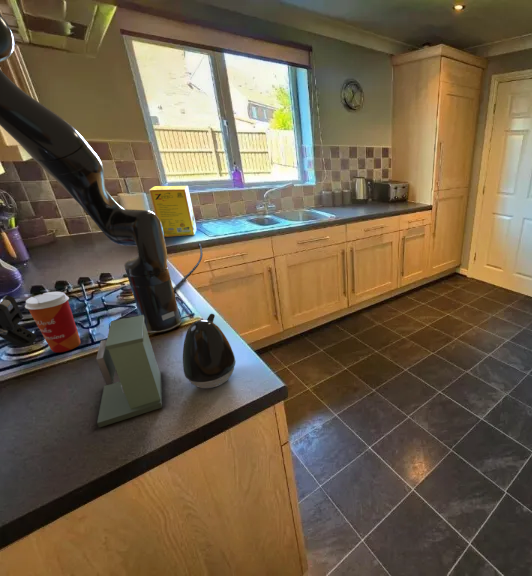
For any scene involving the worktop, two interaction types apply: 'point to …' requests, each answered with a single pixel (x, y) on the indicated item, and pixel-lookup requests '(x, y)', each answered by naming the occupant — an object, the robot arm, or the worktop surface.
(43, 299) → the paper cup
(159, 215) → the packaging box
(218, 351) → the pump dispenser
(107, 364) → the plate
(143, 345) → the dispenser housing
